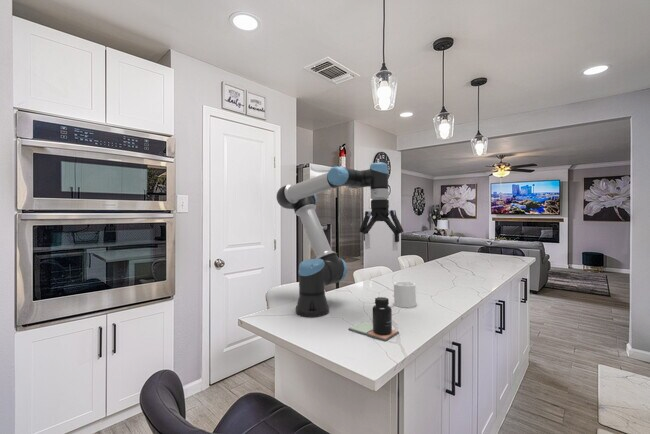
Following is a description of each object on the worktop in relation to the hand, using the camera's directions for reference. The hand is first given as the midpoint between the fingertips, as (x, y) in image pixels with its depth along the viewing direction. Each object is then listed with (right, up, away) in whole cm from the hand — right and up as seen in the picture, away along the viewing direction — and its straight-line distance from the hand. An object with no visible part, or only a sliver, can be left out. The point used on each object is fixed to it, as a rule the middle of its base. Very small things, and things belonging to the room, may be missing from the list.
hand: (380, 249), depth 124 cm
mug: (+16, -29, +17) cm, 37 cm away
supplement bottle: (-3, -28, -19) cm, 34 cm away
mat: (-6, -29, -16) cm, 33 cm away
